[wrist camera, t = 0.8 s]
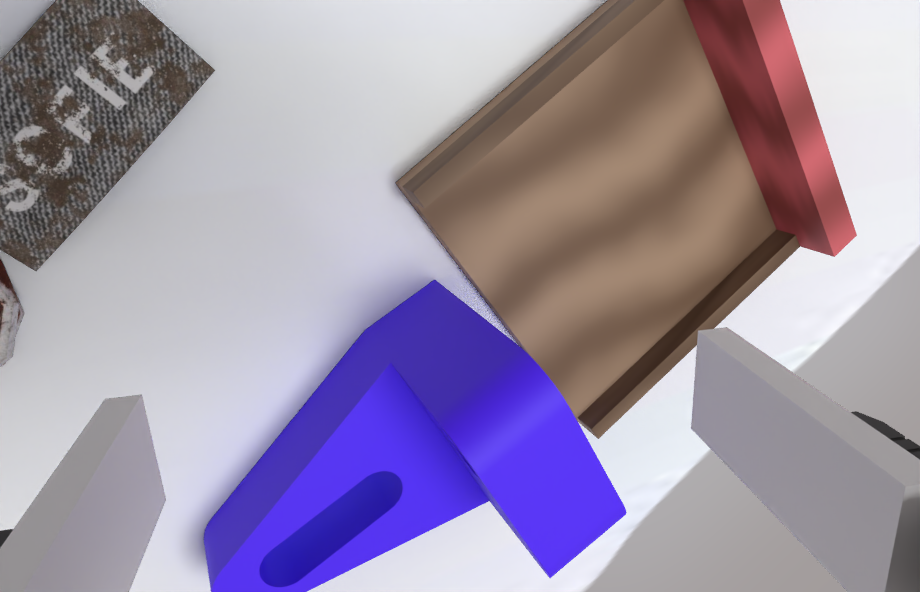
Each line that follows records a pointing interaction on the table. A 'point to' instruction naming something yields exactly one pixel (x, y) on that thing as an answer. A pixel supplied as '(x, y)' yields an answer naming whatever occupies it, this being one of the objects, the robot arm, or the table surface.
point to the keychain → (79, 122)
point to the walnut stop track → (635, 190)
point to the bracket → (413, 456)
